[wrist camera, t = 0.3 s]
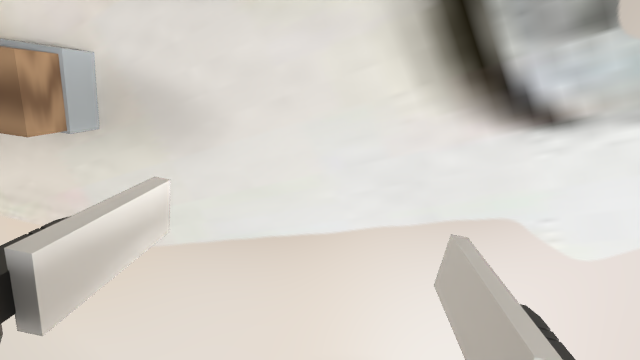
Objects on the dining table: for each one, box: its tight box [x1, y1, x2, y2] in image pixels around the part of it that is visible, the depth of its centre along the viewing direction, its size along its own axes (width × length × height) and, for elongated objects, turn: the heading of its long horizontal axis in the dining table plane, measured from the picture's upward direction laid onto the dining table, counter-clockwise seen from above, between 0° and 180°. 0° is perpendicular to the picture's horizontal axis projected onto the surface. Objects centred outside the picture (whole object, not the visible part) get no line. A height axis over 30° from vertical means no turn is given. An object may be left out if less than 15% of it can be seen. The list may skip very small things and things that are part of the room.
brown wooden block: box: [0, 46, 67, 137], centre depth 35 cm, size 9×9×5 cm
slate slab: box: [0, 38, 99, 134], centre depth 40 cm, size 10×10×5 cm
